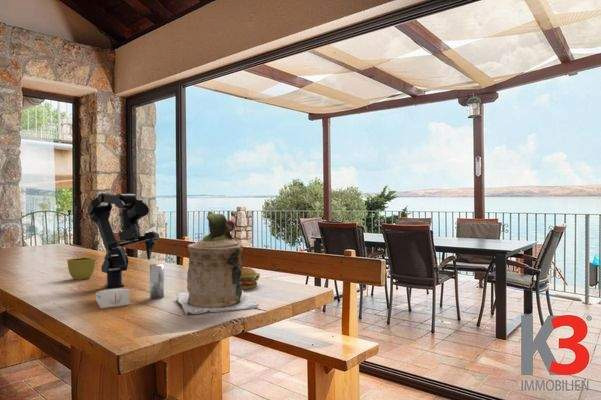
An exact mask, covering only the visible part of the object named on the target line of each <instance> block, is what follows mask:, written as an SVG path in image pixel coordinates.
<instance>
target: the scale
mask: <svg viewBox="0 0 601 400" xmlns="http://www.w3.org/2000/svg"><path fill="white" fill-rule="evenodd" d="M95 298H96V299H95V301H96V303H97V305H98V306H99V308H100V309H105V308H106V309H107V308H113V307H122V306H128V305H130V303H131V302H130V288H108V289H103V290H99V291H96V292H95Z"/></svg>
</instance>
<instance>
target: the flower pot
mask: <svg viewBox="0 0 601 400" xmlns="http://www.w3.org/2000/svg"><path fill="white" fill-rule="evenodd" d="M96 260H97V259H96V258H94V257H93V258H92V257H86V256H85V257H77V258H70V259H69V258H68V259H66V261H67V268H68V273H69V275H70V276H71V278H72V279H74V280H79V281H81V280H85V279H87V280H88V279H90V278H91V277H92V275H93V273H94V271H95V266H96Z"/></svg>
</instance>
